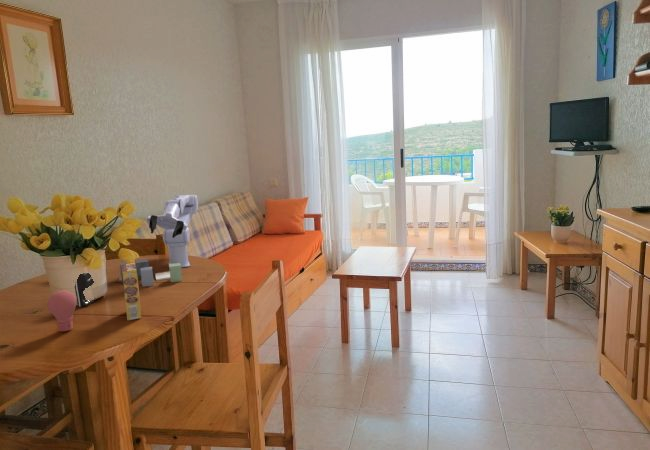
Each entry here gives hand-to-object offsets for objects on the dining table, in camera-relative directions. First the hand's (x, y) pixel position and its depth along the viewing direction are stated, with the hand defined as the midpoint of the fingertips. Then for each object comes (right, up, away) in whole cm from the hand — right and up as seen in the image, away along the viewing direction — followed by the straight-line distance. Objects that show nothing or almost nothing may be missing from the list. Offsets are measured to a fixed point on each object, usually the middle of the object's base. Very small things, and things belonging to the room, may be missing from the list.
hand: (162, 233), depth 172 cm
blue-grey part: (-6, -19, +1) cm, 20 cm away
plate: (-2, -17, +10) cm, 19 cm away
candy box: (+1, -25, -28) cm, 38 cm away
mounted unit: (-13, -17, +9) cm, 24 cm away
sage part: (+4, -18, +4) cm, 19 cm away
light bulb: (-14, -27, -39) cm, 49 cm away
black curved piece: (-19, -23, -17) cm, 34 cm away
